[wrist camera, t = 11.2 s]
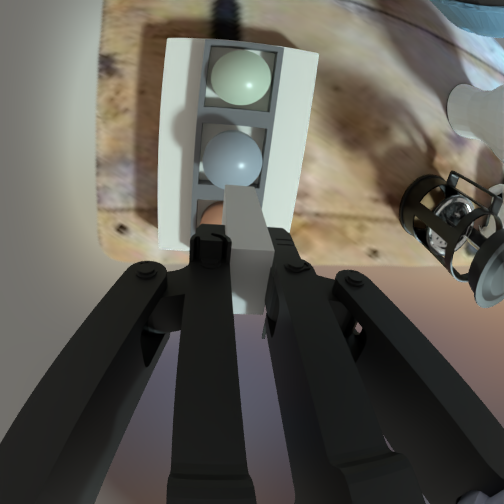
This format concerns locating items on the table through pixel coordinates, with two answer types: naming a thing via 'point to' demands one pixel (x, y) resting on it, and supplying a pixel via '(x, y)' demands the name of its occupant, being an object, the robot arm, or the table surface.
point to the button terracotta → (213, 214)
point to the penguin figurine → (491, 226)
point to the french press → (458, 233)
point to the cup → (478, 115)
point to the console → (228, 118)
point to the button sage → (240, 77)
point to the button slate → (232, 159)
